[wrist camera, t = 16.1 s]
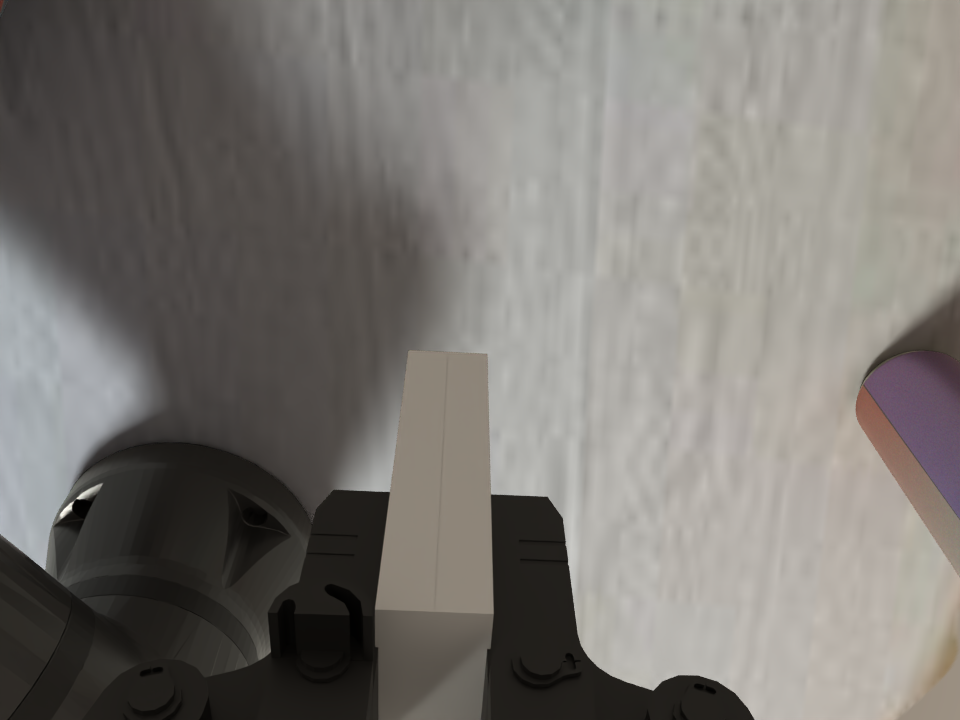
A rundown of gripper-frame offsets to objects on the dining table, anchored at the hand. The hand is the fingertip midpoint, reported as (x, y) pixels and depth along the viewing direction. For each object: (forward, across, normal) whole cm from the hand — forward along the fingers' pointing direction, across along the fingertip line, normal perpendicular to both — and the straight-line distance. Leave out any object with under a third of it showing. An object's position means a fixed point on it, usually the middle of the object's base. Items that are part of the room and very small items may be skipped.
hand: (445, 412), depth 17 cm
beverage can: (+27, +25, -15) cm, 39 cm away
